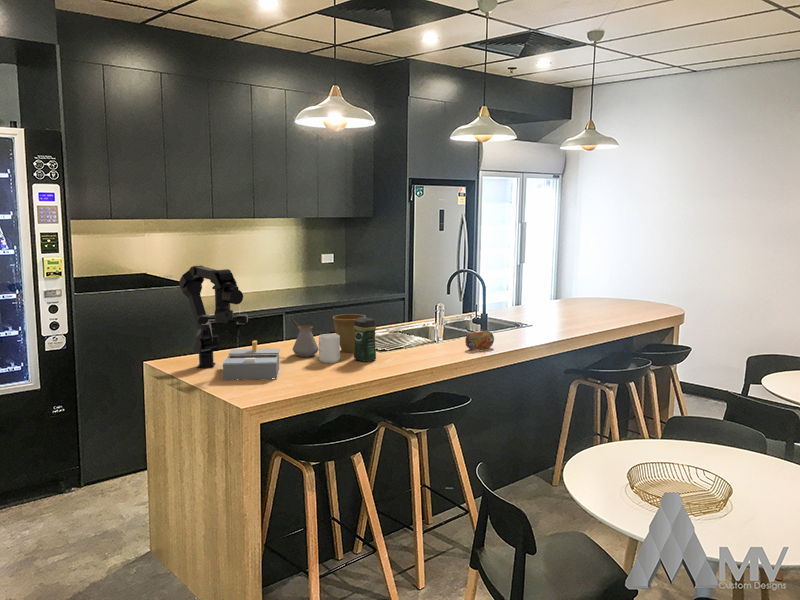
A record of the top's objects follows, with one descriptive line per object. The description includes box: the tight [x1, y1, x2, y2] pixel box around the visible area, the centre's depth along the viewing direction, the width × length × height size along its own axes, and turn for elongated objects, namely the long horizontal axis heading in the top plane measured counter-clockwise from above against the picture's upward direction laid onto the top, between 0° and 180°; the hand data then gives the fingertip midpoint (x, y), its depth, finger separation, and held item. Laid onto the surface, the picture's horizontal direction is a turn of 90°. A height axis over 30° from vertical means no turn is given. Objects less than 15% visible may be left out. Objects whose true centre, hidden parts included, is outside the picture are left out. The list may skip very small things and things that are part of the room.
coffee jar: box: [353, 316, 377, 362], centre depth 281 cm, size 10×8×19 cm
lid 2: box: [222, 357, 277, 366], centre depth 251 cm, size 8×20×2 cm, turn 97°
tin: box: [464, 330, 495, 351], centre depth 305 cm, size 15×3×8 cm, turn 118°
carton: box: [222, 353, 280, 381], centre depth 255 cm, size 16×20×6 cm
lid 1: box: [228, 340, 281, 356], centre depth 266 cm, size 8×20×5 cm, turn 97°
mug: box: [318, 333, 341, 364], centre depth 279 cm, size 12×9×11 cm
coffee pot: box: [287, 317, 319, 358], centre depth 292 cm, size 21×12×15 cm, turn 34°
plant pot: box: [332, 313, 366, 353], centre depth 298 cm, size 15×15×16 cm
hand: (223, 340), depth 257 cm, fingers open, 9 cm apart
